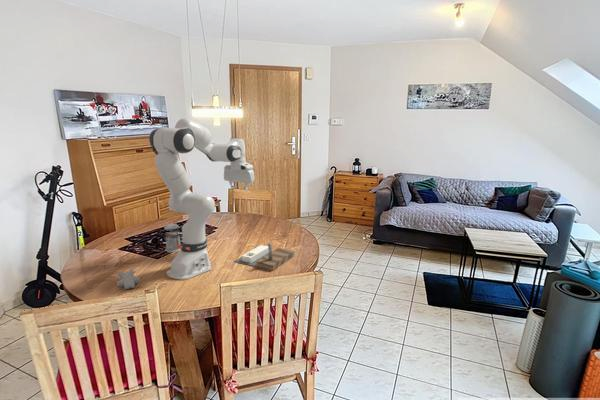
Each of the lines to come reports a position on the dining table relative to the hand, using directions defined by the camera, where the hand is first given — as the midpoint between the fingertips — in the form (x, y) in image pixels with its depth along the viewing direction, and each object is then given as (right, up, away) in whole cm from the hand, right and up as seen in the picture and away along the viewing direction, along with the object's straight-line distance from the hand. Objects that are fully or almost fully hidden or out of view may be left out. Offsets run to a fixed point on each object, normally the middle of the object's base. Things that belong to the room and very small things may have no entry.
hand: (239, 189), depth 202 cm
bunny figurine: (-44, -46, -43) cm, 76 cm away
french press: (-38, -36, -1) cm, 52 cm away
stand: (+23, -39, -19) cm, 49 cm away
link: (+12, -38, -13) cm, 41 cm away
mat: (+12, -38, -13) cm, 42 cm away
